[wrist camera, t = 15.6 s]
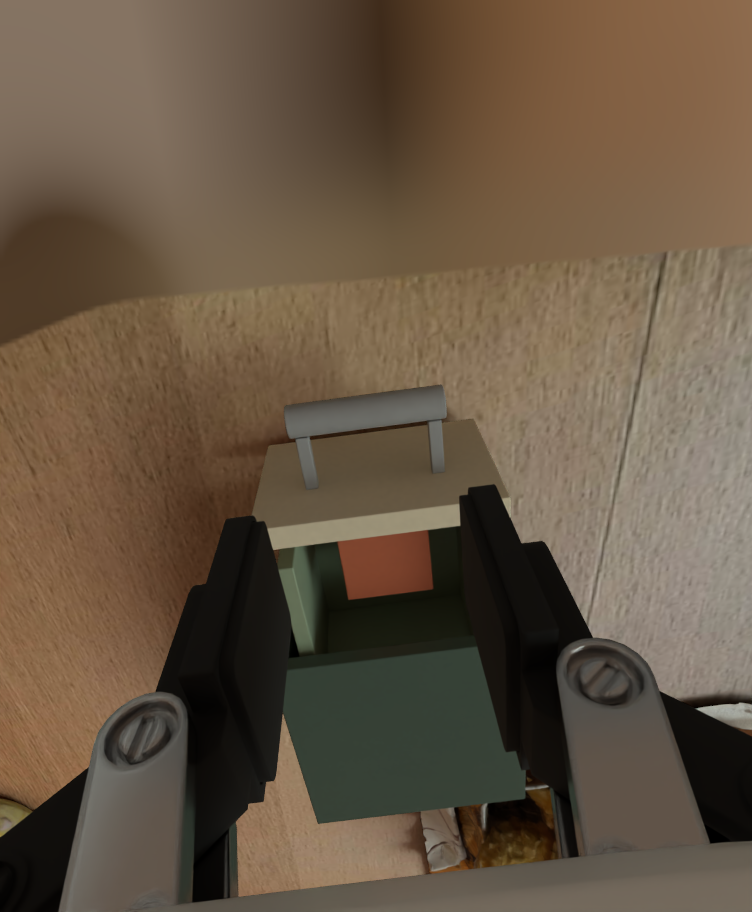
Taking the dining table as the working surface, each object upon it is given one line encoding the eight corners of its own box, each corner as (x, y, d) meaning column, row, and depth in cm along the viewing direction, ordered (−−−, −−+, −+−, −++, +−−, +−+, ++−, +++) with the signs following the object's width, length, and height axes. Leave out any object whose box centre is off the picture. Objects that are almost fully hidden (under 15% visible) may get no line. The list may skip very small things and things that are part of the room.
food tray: (843, 679, 45) (974, 820, 36) (771, 846, 58) (854, 982, 48) (407, 733, 45) (424, 886, 36) (430, 887, 58) (447, 1030, 49)
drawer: (250, 373, 29) (222, 445, 22) (471, 343, 29) (510, 407, 22) (308, 610, 37) (301, 715, 30) (480, 588, 37) (511, 689, 30)
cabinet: (286, 547, 36) (269, 672, 27) (484, 522, 36) (528, 640, 27) (322, 689, 42) (317, 824, 34) (489, 668, 42) (525, 799, 34)
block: (336, 482, 31) (335, 532, 27) (416, 472, 31) (427, 520, 27) (347, 546, 33) (348, 600, 29) (423, 536, 33) (433, 590, 29)
